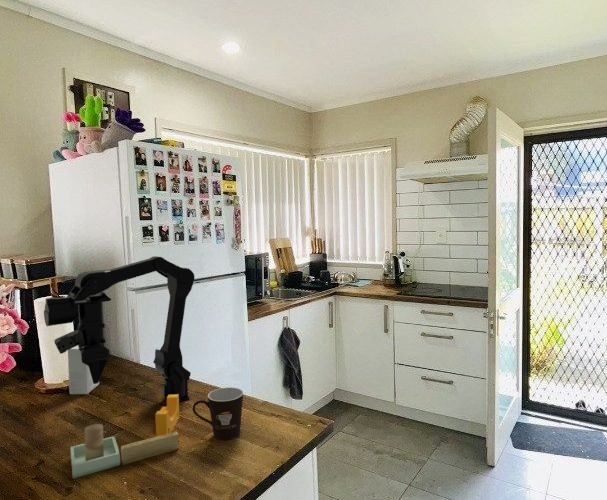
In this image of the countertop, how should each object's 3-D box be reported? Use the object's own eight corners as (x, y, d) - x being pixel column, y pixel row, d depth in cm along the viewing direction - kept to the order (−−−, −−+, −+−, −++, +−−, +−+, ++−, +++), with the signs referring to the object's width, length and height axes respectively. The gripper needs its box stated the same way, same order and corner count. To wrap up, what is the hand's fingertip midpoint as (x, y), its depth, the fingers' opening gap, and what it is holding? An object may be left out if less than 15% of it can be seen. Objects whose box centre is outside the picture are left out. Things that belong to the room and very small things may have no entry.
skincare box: (82, 385, 138) (80, 340, 138) (100, 384, 138) (98, 340, 138) (68, 395, 130) (66, 348, 129) (88, 394, 130) (85, 347, 129)
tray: (114, 446, 98) (114, 436, 98) (120, 464, 90) (119, 453, 90) (71, 458, 93) (70, 447, 93) (72, 478, 86) (72, 466, 86)
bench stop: (177, 445, 98) (176, 431, 98) (178, 448, 96) (178, 434, 96) (121, 461, 92) (121, 446, 91) (122, 464, 90) (122, 449, 90)
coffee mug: (250, 428, 106) (249, 389, 105) (234, 444, 98) (232, 403, 97) (210, 422, 110) (209, 384, 109) (191, 437, 102) (190, 397, 101)
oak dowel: (102, 452, 94) (101, 422, 94) (104, 460, 91) (104, 429, 91) (84, 457, 92) (83, 426, 92) (86, 465, 89) (85, 433, 89)
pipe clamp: (163, 418, 113) (162, 394, 113) (179, 417, 113) (178, 394, 113) (149, 440, 101) (147, 414, 101) (167, 439, 101) (166, 413, 101)
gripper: (55, 317, 113) (58, 374, 114) (56, 331, 97) (59, 396, 98) (100, 312, 119) (103, 366, 120) (108, 324, 103) (111, 386, 104)
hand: (94, 378), depth 110 cm, fingers open, 9 cm apart
